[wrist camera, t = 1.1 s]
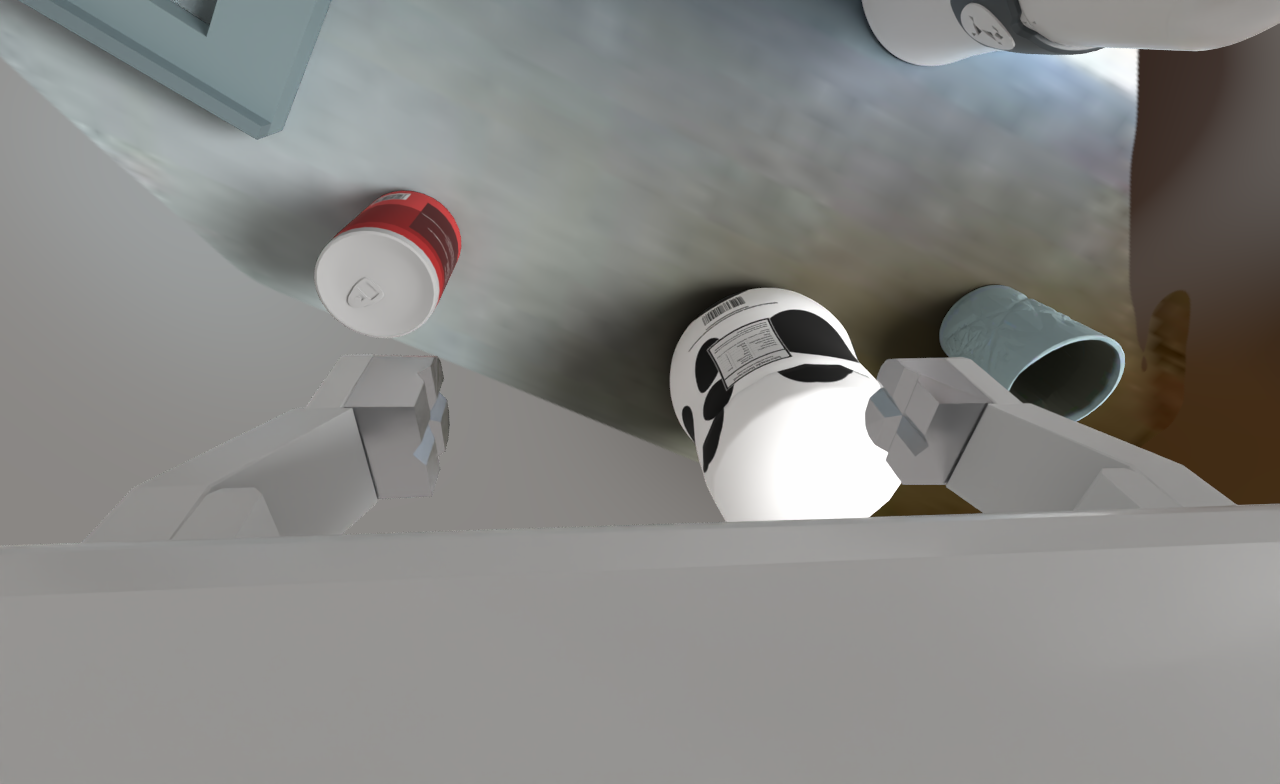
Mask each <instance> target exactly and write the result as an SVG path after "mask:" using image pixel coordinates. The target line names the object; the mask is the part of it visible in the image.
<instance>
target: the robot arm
mask: <svg viewBox="0 0 1280 784" xmlns="http://www.w3.org/2000/svg"><path fill="white" fill-rule="evenodd" d="M862 3H863V8H864V11H865V15H866V17H867V20H868V22H869V25H870V27H871V29H872V31H873V32H874V34H875V36H876V37H877V39H878V40H879V41H880V42H881V44H882V45H883V46H884V47H885V48H886V49H887V50H888V51H889V52H891V53H892V54H893V55H895V56H896V57H898V58H900V59H902V60H904V61H906V62H909V63H912V64H916V65H922V66H938V65H945V64H949V63H953V62H956V61H959V60H962V59H965V58H968V57H972V56H975V55H980V54H985V53H989V52H994V51H1009V52H1016V53H1025V54H1048V55H1073V54H1083V53H1088V52H1092V51H1097V50H1099V49H1102V48H1105V47H1108V48H1133V49H1160V50H1185V51H1200V50H1208V49H1216V48H1220V47H1224V46H1228V45H1231V44H1234V43H1237V42H1240V41H1243V40H1245V39H1247V38H1250V37H1252V36H1254V35H1256V34H1258V33H1261V32H1263V31H1265V30H1267V29H1269V28H1271V27H1272V26H1274V25H1276V24H1278V23H1280V0H862ZM443 379H444V377H443V371H442V366H441V362H440V360H439V358H438V356H407V355H403V356H402V355H374V354H364V355H363V354H359V355H343V356H341V357H340V358H339V359H338V360H337V362H336V363H335V365H334V366H333V368H332V369H331V371H330V372H329V374H328V375H327V376H326V378H325V380H324V381H323V382H322V384H321V385H320V387H319V388H318V390H317V391H316V393H315V394H314V395H313V397H312V398H311V400H310V401H309V403H308V404H307V406H306V407H305V408H294V409H292V410H290V411H288V412H286V413H284V414H282V415H280V416H278V417H276V418H274V419H272V420H270V421H267V422H265V423H263V424H261V425H259V426H258V427H255V428H253V429H251V430H249V431H247V432H245V433H243V434H241V435H239V436H237V437H235V438H233V439H231V440H229V441H227V442H225V443H223V444H221V445H219V446H217V447H215V448H213V449H211V450H209V451H207V452H204V453H203V454H201V455H199V456H196V457H194V458H193V459H190V460H188V461H186V462H184V463H182V464H180V465H178V466H176V467H174V468H172V469H170V470H168V471H166V472H164V473H162V474H160V475H158V476H156V477H154V478H152V479H150V480H148V481H146V482H144V483H142V484H139V485H138V486H135V487H133V488H132V489H131V490H130V492H128V494H126V495H125V497H124V498H123V499H122V500H121V501H120V502H119V503H118V504H117V505H116V506H115V507H114V508H113V510H111V512H110V513H109V514H108V515H107V516H106V517H105V518H104V519H103V520H102V521H101V522H100V523H99V524H98V525H97V527H96V528H95V529H94V530H93V531H92V532H91V533H90V534H89V535H88V536H87V537H86V538H85V540H84V541H83V542H82V543H71V544H40V545H11V546H0V784H1280V504H1263V505H1236V504H1235V503H1233V502H1232V501H1230V500H1229V499H1228V498H1227V497H1225V496H1224V495H1222V494H1221V493H1220V492H1218V491H1217V490H1216V489H1214V488H1213V487H1212V486H1210V485H1209V484H1208V483H1206V482H1204V481H1203V480H1202V479H1201V478H1199V477H1198V476H1197V475H1195V474H1194V473H1193V472H1191V471H1190V470H1189V469H1187V468H1186V467H1184V466H1183V465H1181V464H1178V463H1176V462H1173V461H1171V460H1168V459H1166V458H1164V457H1161V456H1159V455H1156V454H1154V453H1151V452H1149V451H1146V450H1144V449H1141V448H1139V447H1137V446H1134V445H1132V444H1129V443H1127V442H1124V441H1122V440H1119V439H1117V438H1114V437H1112V436H1109V435H1107V434H1105V433H1102V432H1100V431H1097V430H1095V429H1092V428H1090V427H1087V426H1085V425H1082V424H1080V423H1077V422H1075V421H1073V420H1070V419H1068V418H1065V417H1063V416H1060V415H1058V414H1055V413H1053V412H1050V411H1048V410H1045V409H1043V408H1041V407H1038V406H1036V405H1033V404H1031V403H1022V402H1021V401H1019V400H1018V399H1017V398H1016V397H1015V396H1014V395H1012V394H1011V393H1010V392H1009V391H1008V390H1007V389H1005V388H1004V387H1003V386H1002V385H1001V384H999V383H998V382H997V381H996V380H995V379H994V378H992V377H991V376H990V375H989V374H988V373H986V372H985V371H984V370H983V369H982V368H981V367H979V366H978V365H977V364H976V363H975V362H974V361H972V360H971V359H968V358H964V357H950V358H906V359H887V360H886V361H885V362H884V364H883V365H882V366H881V368H880V370H879V373H878V376H877V381H878V383H879V386H880V389H879V390H878V391H877V392H875V393H874V394H873V395H872V396H871V397H870V398H869V401H868V404H867V407H866V410H865V427H866V430H867V433H868V436H869V437H870V439H871V440H872V442H873V443H874V445H876V446H878V447H879V448H881V449H883V450H884V451H886V452H888V453H887V456H886V462H887V463H888V465H889V466H890V467H891V469H892V470H893V472H894V473H895V474H896V476H897V477H898V479H899V480H900V481H901V483H902V484H903V485H946V487H947V488H949V489H950V490H952V491H953V492H954V493H956V494H957V495H959V496H960V497H961V498H963V499H964V500H966V501H967V502H969V503H970V504H971V505H973V506H974V507H976V508H977V509H978V510H980V511H981V512H983V513H984V514H953V515H923V516H893V517H863V518H833V519H802V520H772V521H741V522H712V523H681V524H649V525H619V526H588V527H557V528H528V529H496V530H466V531H437V532H436V531H435V532H408V533H407V532H405V533H377V534H376V533H375V534H344V535H342V534H343V533H344V532H345V531H346V530H347V529H349V528H350V527H351V526H352V525H353V524H354V523H355V522H356V521H357V520H359V519H360V518H361V517H362V516H363V515H364V514H365V513H366V512H367V511H368V510H370V509H371V508H372V507H373V506H374V505H375V504H376V503H377V502H378V500H377V499H391V498H411V497H431V496H432V495H433V491H434V488H435V484H436V481H437V478H438V474H439V471H440V466H439V460H438V456H439V455H441V454H442V453H444V452H445V450H446V446H447V442H448V436H449V425H450V424H449V409H448V402H447V399H446V398H445V397H444V396H443V395H442V394H441V393H440V392H439V391H440V388H441V385H442V382H443Z"/></svg>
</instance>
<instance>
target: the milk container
mask: <svg viewBox="0 0 1280 784" xmlns="http://www.w3.org/2000/svg"><path fill="white" fill-rule="evenodd" d="M879 389H880V386H879V383H878V382H877V381H876V379H875V378H874V377H873V376H872V375H871V374H870V373H869V372H868V371H867V370H866V369H865V368H864V367H863V366H862V365H861V364H860V362H859V361H858V359H857V356H856V352H855V349H854V347H853V344H852V341H851V339H850V337H849V335H848V334H847V332H846V331H845V329H844V327H843V326H842V325H841V323H840V322H839V321H838V320H837V319H836V318H835V317H834V316H833V315H832V314H831V313H830V312H829V311H828V310H827V309H825V308H824V307H823V306H821V305H820V304H818V303H817V302H815V301H813V300H812V299H810V298H808V297H806V296H804V295H802V294H799V293H797V292H794V291H790V290H786V289H780V288H756V289H750V290H746V291H742V292H739V293H735V294H732V295H730V296H727V297H725V298H723V299H721V300H719V301H718V302H716V303H715V304H713V305H711V306H710V307H709V308H707V309H706V310H704V311H703V312H702V313H700V314H699V315H698V316H697V317H696V318H695V319H694V321H693V322H692V323H691V324H690V325H689V326H688V328H687V329H686V330H685V332H684V333H683V335H682V336H681V338H680V340H679V342H678V344H677V346H676V349H675V351H674V354H673V358H672V363H671V370H670V392H671V399H672V403H673V407H674V410H675V413H676V416H677V418H678V420H679V422H680V424H681V426H682V427H683V429H684V430H685V432H686V433H687V435H688V436H689V437H690V438H691V440H692V441H693V442H694V443H695V445H696V449H697V453H698V458H699V461H700V465H701V468H702V471H703V473H704V479H705V482H706V485H707V487H708V489H709V491H710V493H711V496H712V497H713V499H714V501H715V503H716V505H717V507H718V508H719V510H720V512H721V514H722V516H723V517H724V519H725V521H726V522H741V521H772V520H802V519H833V518H863V517H870V516H871V515H872V514H873V513H874V512H876V511H877V510H878V509H879V508H880V507H881V506H883V505H884V504H885V503H886V502H887V501H889V499H890V498H891V497H892V495H893V494H894V492H895V491H896V489H897V488H898V486H899V485H900V483H901V481H900V480H899V479H898V477H897V476H896V474H895V473H894V472H893V470H892V469H891V467H890V466H889V465H888V463H887V462H886V456H887V453H888V452H886V451H884V450H883V449H881V448H879V447H878V446H876V445H874V443H873V442H872V440H871V439H870V437H869V436H868V433H867V430H866V427H865V410H866V407H867V404H868V401H869V398H870V397H871V396H872V395H873V394H874V393H875V392H877V391H878V390H879Z"/></svg>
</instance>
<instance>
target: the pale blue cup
mask: <svg viewBox="0 0 1280 784" xmlns="http://www.w3.org/2000/svg"><path fill="white" fill-rule="evenodd" d="M939 340H940V344H941V346H942V348H943V350H944V352H945V353H946V354H947V355H948V356H949V358H950V357H964V358H968V359H971V360H972V361H974V362H975V363H976V364H977V365H978V366H979V367H981V368H982V369H983V370H984V371H985V372H986V373H988V374H989V375H990V376H991V377H992V378H994V379H995V380H996V381H997V382H998V383H999V384H1001V385H1002V386H1003V387H1004V388H1005V389H1007V390H1008V391H1009V392H1010V393H1011V394H1012V395H1014V396H1015V397H1016V398H1017V399H1018V400H1019V401H1021V402H1022V403H1031V404H1033V405H1036V406H1038V407H1041V408H1043V409H1045V410H1048V411H1050V412H1053V413H1055V414H1058V415H1060V416H1063V417H1065V418H1068V419H1070V420H1073V421H1075V422H1076V421H1078V420H1080V419H1082V418H1083V417H1085V416H1087V415H1088V414H1090V413H1091V412H1092V411H1094V410H1095V409H1096V408H1097V407H1098V406H1100V405H1101V404H1102V403H1103V402H1104V401H1105V400H1106V399H1107V398H1108V397H1109V395H1110V394H1111V393H1112V392H1113V390H1114V389H1115V388H1116V386H1117V384H1118V383H1119V381H1120V378H1121V376H1122V374H1123V371H1124V366H1125V355H1124V352H1123V350H1122V348H1121V346H1120V345H1119V344H1118V343H1117V342H1116V341H1115V340H1113V339H1111V338H1109V337H1107V336H1105V335H1103V334H1101V333H1099V332H1097V331H1095V330H1093V329H1091V328H1089V327H1087V326H1085V325H1082V324H1081V323H1079V322H1076V321H1074V320H1071V319H1070V317H1068V316H1066V315H1063V314H1062V313H1059V312H1057V311H1055V310H1054V309H1052V308H1050V307H1048V306H1045V305H1044V304H1042V303H1040V302H1037V301H1036V300H1034V299H1028V298H1027V297H1026V296H1025V295H1024V294H1022V293H1020V292H1018V291H1016V290H1014V289H1012V288H1010V287H1007V286H1002V285H989V286H985V287H981V288H978V289H976V290H974V291H972V292H970V293H968V294H966V295H965V296H964V297H962V298H961V299H960V300H958V301H957V302H956V303H955V304H954V305H953V306H952V307H951V309H950V310H949V311H948V313H947V314H946V316H945V317H944V319H943V322H942V324H941V327H940V333H939Z"/></svg>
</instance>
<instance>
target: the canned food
mask: <svg viewBox="0 0 1280 784" xmlns="http://www.w3.org/2000/svg"><path fill="white" fill-rule="evenodd" d="M460 250H461V236H460V232H459V228H458V226H457V224H456V222H455V220H454V218H453V216H452V215H451V214H450V212H449V211H448V210H447V209H446V208H445V207H444V206H443V205H442V204H441V203H440V202H438V201H437V200H435V199H434V198H432V197H430V196H427V195H425V194H422V193H418V192H414V191H396V192H391V193H388V194H386V195H383V196H381V197H380V198H378V199H377V200H375V201H374V202H373V203H372V204H371V205H369V206H368V207H367V208H366V209H365V210H364V211H363V212H361V213H360V214H359V215H358V216H357V217H356V218H355V219H354V220H352V221H351V222H350V223H349V224H348V225H347V226H346V227H345V228H343V229H342V230H341V231H340V232H339V233H338V234H337V235H336V236H335V237H334V238H333V239H332V240H331V241H330V242H329V243H328V244H327V245H326V246H325V247H324V249H323V250H322V252H321V254H320V256H319V257H318V259H317V262H316V266H315V271H314V281H315V286H316V291H317V293H318V296H319V298H320V300H321V302H322V304H323V305H324V306H325V308H326V309H327V311H328V312H329V313H330V314H331V315H332V316H333V317H334V318H335V319H336V320H337V321H339V322H340V323H341V324H343V325H344V326H345V327H347V328H349V329H351V330H353V331H355V332H357V333H361V334H363V335H366V336H371V337H377V338H393V337H400V336H403V335H406V334H409V333H411V332H413V331H415V330H416V329H418V328H419V327H421V326H422V325H423V324H424V323H425V322H426V321H427V320H428V319H429V317H430V316H431V314H432V313H433V312H434V310H435V308H436V306H437V304H438V302H439V300H440V298H441V296H442V293H443V291H444V289H445V287H446V285H447V283H448V280H449V278H450V276H451V274H452V272H453V269H454V267H455V265H456V263H457V260H458V258H459V255H460Z"/></svg>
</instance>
